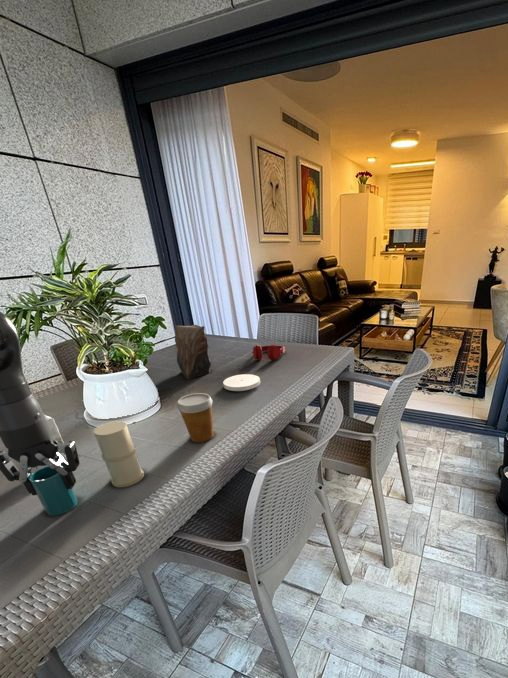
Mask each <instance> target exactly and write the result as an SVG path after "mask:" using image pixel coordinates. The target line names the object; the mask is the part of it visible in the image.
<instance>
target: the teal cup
mask: <svg viewBox="0 0 508 678" xmlns="http://www.w3.org/2000/svg"><path fill="white" fill-rule="evenodd" d="M61 476H62V475H61V474H60V473H59V472H58V471H56V470H55V469H51V468H50V467H49V466H47V467H43V468H41V469H39V470H37V469H36V470H35V471H34V472H33V471H32V474H31V475H30V476H29V481H30V482H31V484H32V486H33V488H34V490H35V492H36V494H37V495H36V496H37V498H38V501H39V502H40V504H41V506H42V507H43V509H44V511H45V513H46V514H47V515H48V516H51V517H52V516H54V517H55V516H61V515H63V514H66V513H68V512H70V511H71V510H73V509H75V507H76V506H77V505H78V502H79V501H78V497H77V495H76V493H75V492H74V489H73V488H72V489H67V487H66V485H65V483H64V481H63V479H62V477H61Z"/></svg>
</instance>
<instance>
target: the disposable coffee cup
mask: <svg viewBox="0 0 508 678" xmlns="http://www.w3.org/2000/svg"><path fill="white" fill-rule="evenodd" d="M213 402H214V401H213V398H211V396H210V394H208V393H204V392H200V393H199V392H195V393H189V394H187V395H184V396H182V397H180V398H178V400H177V405H176V408H177V410H178V411H179V412H180V415H181V418H182V420H183V422H184V424H185V428H186V429H187V432H188V435H189V437H190V439H191V441H192V442H194V443H203V442H208V441H209V440H211V439H212V438H213V437H214V421H213Z"/></svg>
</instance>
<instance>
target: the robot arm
mask: <svg viewBox="0 0 508 678" xmlns="http://www.w3.org/2000/svg"><path fill="white" fill-rule="evenodd" d="M23 369H24V368H23V361H22V352H21V343H20V337H19V333H18V329H17V328H16V326H15V324H14V322H13V321H12V320H11V319H10V318H9V317H8V316H7V315H6V314H5V313H3V312H2V311H0V440H1V441H2V443H3V445H4V447H5V449H7V451H4V450H0V472H1V473H2V475H3V476H4V477H5V478H6V479H7V481H8V482H14V481H18V482H20V483H22V484H23V486H24V488H25V489H26V491H27V493H28V494H31V496H33V497H34V496H37V494H36V492H35V490H34V488H33V486H32V484H31V482H30V481H29V476H30V475H31V474H32V473H33V468H36V467H37V466H46V465H47V466H49V467H50V468H51V469H55V470H56V471H58V472H59V473H60V474H61V475H62V476H61V477H62V479H63V481H64V483H65V485H66V487H67V489H73V488H74V486H75V484H76V483H77V479H76V477H75V475H74V473H73V472H76V471H77V468H78V467H79V466H80V459H79V454H78V453H79V452H78V449H77V445H76V442H75V441H74V440H69V441H67V442H64V443H58V442H57V441H56V440H55V439H54V438H53V435H52V432H51V430H50V427H49V425H48V423H47V421H46V419H45V416H44V415H45V413H44V412H43V410H42V407H41V405H40V403H39V402H38V400H37V398H36V397H35V396H34V393H33V392H32V390H31V387H30V385H29V383H28V381H27V378H26V376H25V375H24V374H25V373H24V370H23ZM58 450H61V451H62V453H63V454H66V458H67V462H68V463H67V462H66V461H65V460H64V458H63V457H62V456H61V455H60V454H59V453H57V452H58ZM54 459H55V462H54V461H53V460H54ZM13 460H15V461H16V462H18V463H19V467H17V465H16V464H15V463H14V461H13Z"/></svg>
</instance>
